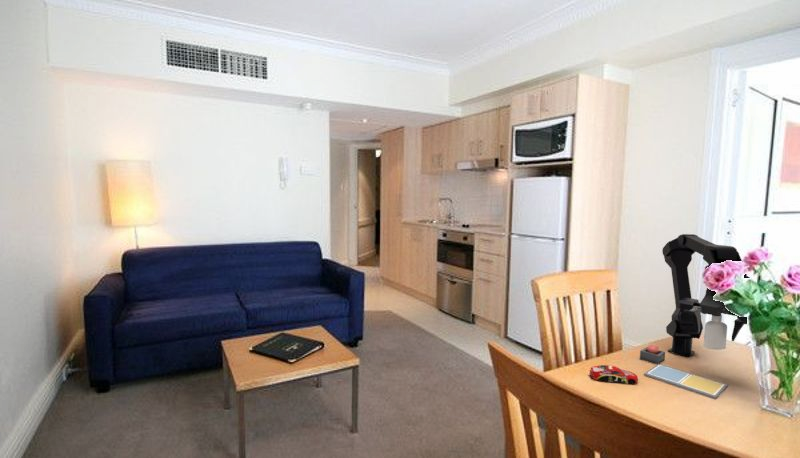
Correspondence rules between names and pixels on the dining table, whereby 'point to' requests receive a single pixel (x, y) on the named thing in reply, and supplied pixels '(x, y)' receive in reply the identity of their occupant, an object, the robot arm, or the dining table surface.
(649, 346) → the button
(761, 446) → the dining table surface
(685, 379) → the grey flat rectangular board
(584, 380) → the dining table surface
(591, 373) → the race car
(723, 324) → the eye dropper bottle
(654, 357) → the button housing
